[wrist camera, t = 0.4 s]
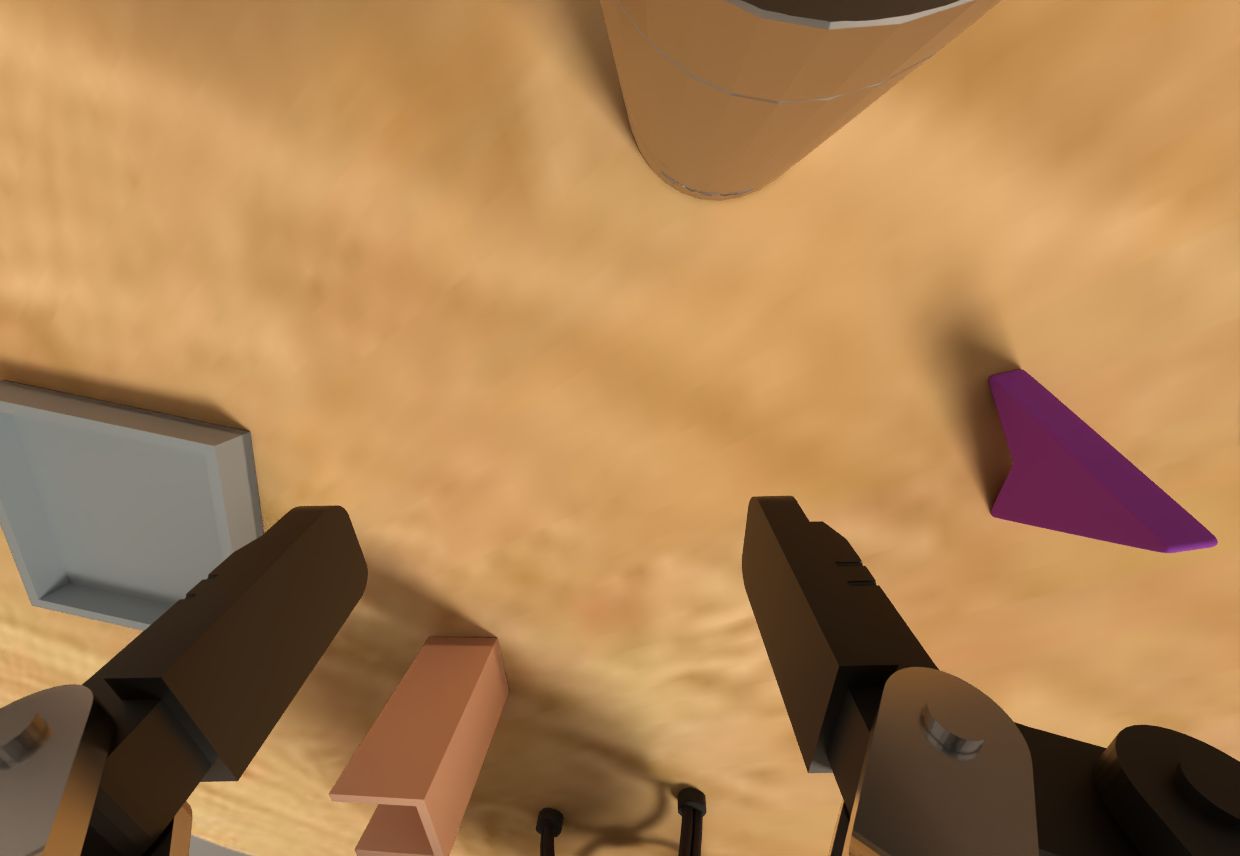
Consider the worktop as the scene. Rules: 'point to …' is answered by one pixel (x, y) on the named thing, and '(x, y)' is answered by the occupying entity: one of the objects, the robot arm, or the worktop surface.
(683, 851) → the brazier
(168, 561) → the tray
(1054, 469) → the arrowhead
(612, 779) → the worktop surface
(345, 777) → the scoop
